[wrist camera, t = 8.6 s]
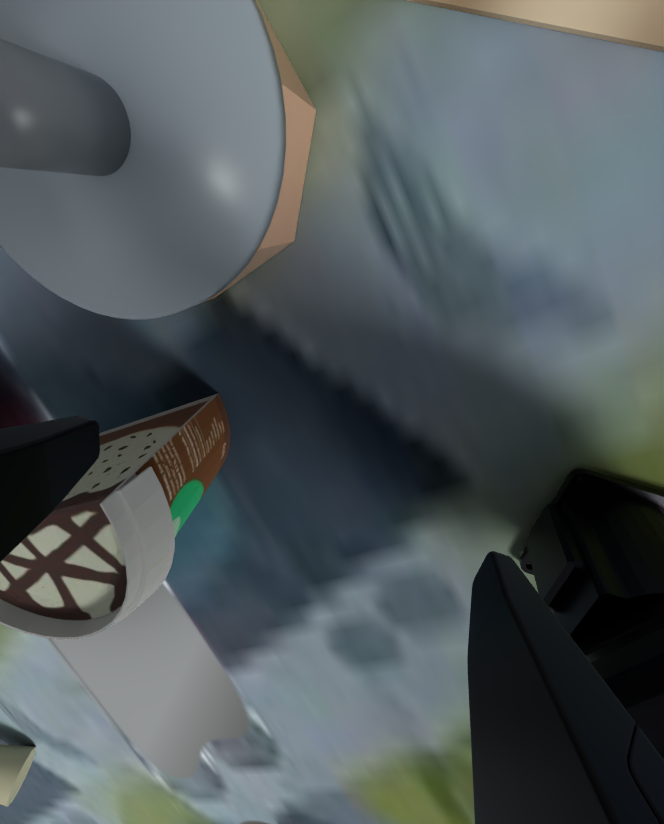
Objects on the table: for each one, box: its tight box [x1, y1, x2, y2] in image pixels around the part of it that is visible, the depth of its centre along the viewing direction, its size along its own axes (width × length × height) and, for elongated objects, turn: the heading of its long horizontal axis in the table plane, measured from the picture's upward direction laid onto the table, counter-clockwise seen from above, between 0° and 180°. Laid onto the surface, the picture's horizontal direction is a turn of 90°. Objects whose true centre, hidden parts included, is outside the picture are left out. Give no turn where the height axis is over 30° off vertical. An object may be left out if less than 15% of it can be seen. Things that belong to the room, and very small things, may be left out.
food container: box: [0, 393, 230, 639], centre depth 21 cm, size 12×6×10 cm, turn 113°
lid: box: [0, 0, 286, 320], centre depth 12 cm, size 12×12×5 cm
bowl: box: [168, 0, 316, 316], centre depth 16 cm, size 12×12×4 cm
